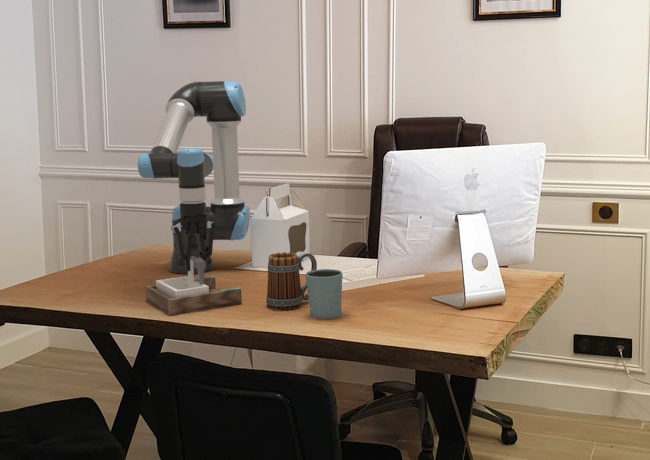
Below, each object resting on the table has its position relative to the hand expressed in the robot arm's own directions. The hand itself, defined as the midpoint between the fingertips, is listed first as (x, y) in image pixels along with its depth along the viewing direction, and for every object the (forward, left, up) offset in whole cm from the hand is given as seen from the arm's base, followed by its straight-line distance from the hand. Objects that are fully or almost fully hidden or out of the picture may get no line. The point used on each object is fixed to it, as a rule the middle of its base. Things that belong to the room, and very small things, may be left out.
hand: (196, 280), depth 248 cm
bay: (+1, 0, -7) cm, 7 cm away
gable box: (-48, -37, -7) cm, 61 cm away
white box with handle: (+4, 0, -5) cm, 7 cm away
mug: (-22, +19, -7) cm, 30 cm away
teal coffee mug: (-24, +34, -7) cm, 42 cm away
